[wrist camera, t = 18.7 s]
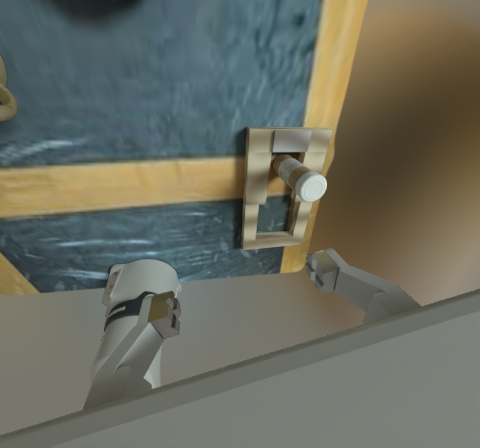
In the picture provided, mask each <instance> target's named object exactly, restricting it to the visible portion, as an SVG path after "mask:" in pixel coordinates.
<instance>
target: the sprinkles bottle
mask: <svg viewBox="0 0 480 448" xmlns="http://www.w3.org/2000/svg"><path fill="white" fill-rule="evenodd" d="M273 170H274V172H275V173H276V174H278V175H279V176H280V178H281V179H282V180H283V181H284V182H285V183H286V184H287V185H288V186H289V187H291V188H292V189H293V190H294V191H295V192H296V194H297V195H298V196H299V197H300V198H301V199H302V200H304V201H306V202H313V201H316V200H317V199H319V198H320V197H321V196H322V195H323V194H324V192H325V190H326V187H327V183H326V179H325V178H324V177H323V176H321V175H320V174H318V173H317V172H313V171H312V170H310V169H309V168H307V167H306V166H305V165H303V164H302V163H300V162H299V161H297V160H296V159H293V158H292V157H291V156H290V155H288V154H282V155H279V156H278V157H277V158H276V159H275V161H274V163H273Z"/></svg>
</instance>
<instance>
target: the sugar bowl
mask: <svg viewBox="0 0 480 448" xmlns="http://www.w3.org/2000/svg"><path fill="white" fill-rule="evenodd" d="M6 82H7V73H6V68H5V65H4V62H3V59H2V57H1V55H0V101H1V102H2V103H3V105H0V121H7V120H9V119H11V118H13V117H14V116H15V115H16V114H17V111H18V106H17V102H16V100H15V98H14V96H13V95H12V94H11V93H10V91H9V90H8V89H7V88H6Z"/></svg>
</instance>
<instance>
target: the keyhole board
mask: <svg viewBox="0 0 480 448" xmlns="http://www.w3.org/2000/svg"><path fill="white" fill-rule="evenodd" d="M331 134H332V129H328V128H303V127H247V134H246V155H245V175H244V196H243V217H242V237H241V245H242V248H243V250H248V249H258V248H268V247H278V246H288V245H298V244H301V243H302V239H303V235H304V232H305V228H306V224H307V221H308V217H309V214H310V210H311V206H312V203H313V202H306V201H304V200H302V199H301V198H300V197H299V196H298V195H297V194H296V192H295V191H294V190H293V189H292V192H291V198H292V200H293V201H294V202H295V205H294V210H293V215H292V219H291V224H290V228H289V231H280V232H268V233H257V234H256V228H257V218H258V208H259V204H265V203H266V195H267V187H268V178H269V170H270V162H271V154H272V152H299V157H298V161H299V162H300V163H302V164H303V165H305V166H306V167H307V168H309V169H310V170H312V171H313V172H317V173H318V174H321V170H322V167H323V163H324V159H325V156H326V152H327V148H328V145H329V141H330V138H331Z"/></svg>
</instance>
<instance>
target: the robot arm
mask: <svg viewBox="0 0 480 448" xmlns="http://www.w3.org/2000/svg"><path fill="white" fill-rule="evenodd" d="M306 259H307V261H308V262H307V263H306V271H307V274H308V276H309V277H310V279H312V280H313V281H315V287H316V288H317V290H318V291H319V293H320V294H323V293H327V292H331V291H334V292H336V293H337V294H339V295H341V296H342V297H344V298H346V299H347V300H348V301H350V302H351V303H353V304H355V305H356V306H358V307H359V308H361V309H362V310H364V311H365V312H366V313H365V315H364V318H363V323H364V324H363V325H360V326H356V327H353V328H350V329H346V330H343V331H340V332H337V333H333V334H330V335H327V336H324V337H320V338H317V339H314V340H310V341H307V342H304V343H301V344H297V345H294V346H291V347H287V348H284V349H281V350H278V351H275V352H271V353H268V354H265V355H261V356H258V357H255V358H251V359H248V360H245V361H242V362H239V363H235V364H232V365H228V366H225V367H222V368H219V369H216V370H212V371H209V372H206V373H202V374H199V375H196V376H193V377H190V378H186V379H183V380H179V381H176V382H173V383H170V384H166V385H163V386H161V382H160V360H161V350H162V343H163V341H164V339H166V338H169V337H172V336H175V335H179V329H180V322H179V320H178V318H179V316H180V312H181V310H180V304H179V301H178V299H177V298H176V295H177V293H179V292H180V291H181V289H182V286H181V284H180V283H179V282H178V277H177V273H176V271H175V270H174V269H173V268H172V267H171V266H170V265H168V264H166V263H164V262H161V261H158V260H152V259H142V260H136V261H133V262H130V263H127V264H115V265H113V266H112V268H111V271H110V274H109V278H108V282H107V285H106V289H105V293H104V297H103V300H102V303H103V304H104V305H106V306H108V309H107V312H106V315H105V317H106V318H107V319H106V322H105V328H104V332H105V333H104V335H103V337H102V339H101V343H100V346H99V348H98V351H97V354H96V356H95V359H94V362H93V364H92V367H91V371H90V380H91V384H92V385H91V388H90V391H89V394H88V397H87V400H86V402H85V405H84V407H83V410H81V411H78V412H75V413H72V414H69V415H65V416H62V417H59V418H55V419H52V420H49V421H45V422H42V423H39V424H36V425H33V426H29V427H26V428H22V429H19V430H16V431H13V432H9V433H6V434H3V435H0V448H480V289H477V290H474V291H471V292H468V293H464V294H461V295H458V296H455V297H451V298H448V299H445V300H441V301H438V302H435V303H431V304H429V305H425V306H422V307H421V306H420V305H419V304H418V303H417V302H416V301H415V300H414V299H412V297H411V296H409V295H408V294H407V293H406V292H405V291H404V290H403V289H402V288H400V287H399V286H398V285H396V284H393V283H391V282H388V281H386V280H384V279H381V278H379V277H377V276H374V275H372V274H369V273H367V272H364V271H362V270H360V269H357V268H355V267H350V266H348V264H347V263H346V262H345V261H344V260H343V259H342V258H341V257H340V256H339V255H338V254H337V253H336V252H335V251H334V250H333V249H332V248H330V249H326V250H322V251H318V252H315V253H311V254H308V255H307V257H306Z"/></svg>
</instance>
